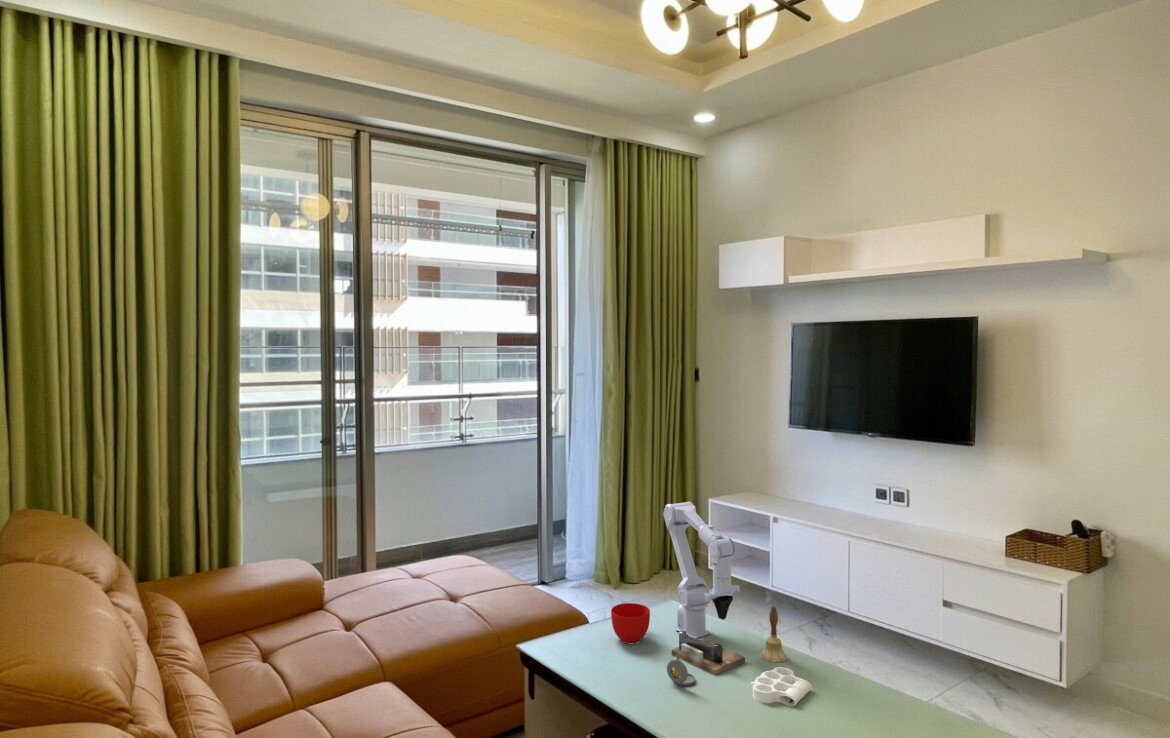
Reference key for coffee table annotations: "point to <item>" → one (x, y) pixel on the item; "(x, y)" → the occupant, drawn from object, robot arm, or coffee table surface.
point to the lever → (703, 647)
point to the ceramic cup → (630, 621)
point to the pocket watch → (679, 672)
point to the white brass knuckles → (780, 687)
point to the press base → (706, 664)
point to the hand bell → (773, 642)
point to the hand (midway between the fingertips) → (722, 618)
